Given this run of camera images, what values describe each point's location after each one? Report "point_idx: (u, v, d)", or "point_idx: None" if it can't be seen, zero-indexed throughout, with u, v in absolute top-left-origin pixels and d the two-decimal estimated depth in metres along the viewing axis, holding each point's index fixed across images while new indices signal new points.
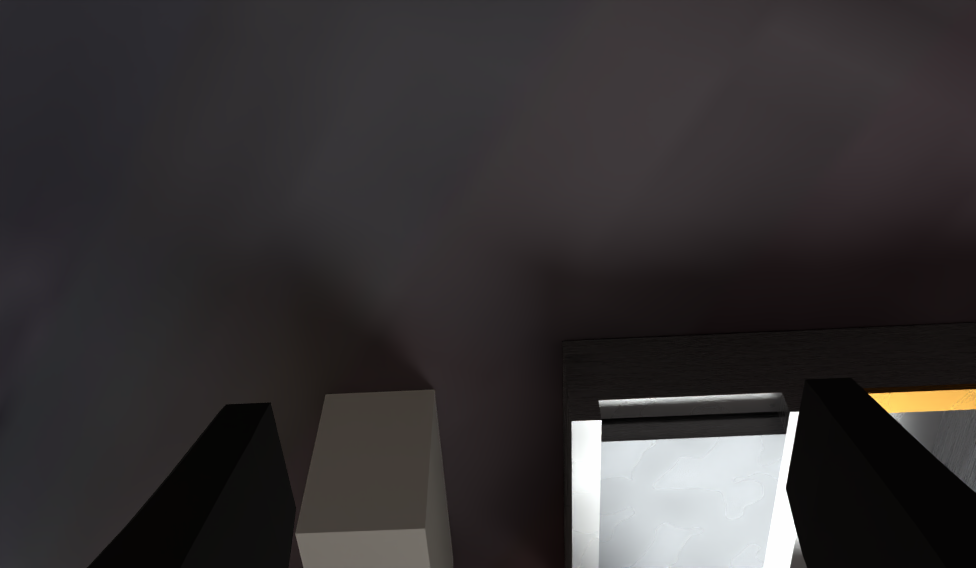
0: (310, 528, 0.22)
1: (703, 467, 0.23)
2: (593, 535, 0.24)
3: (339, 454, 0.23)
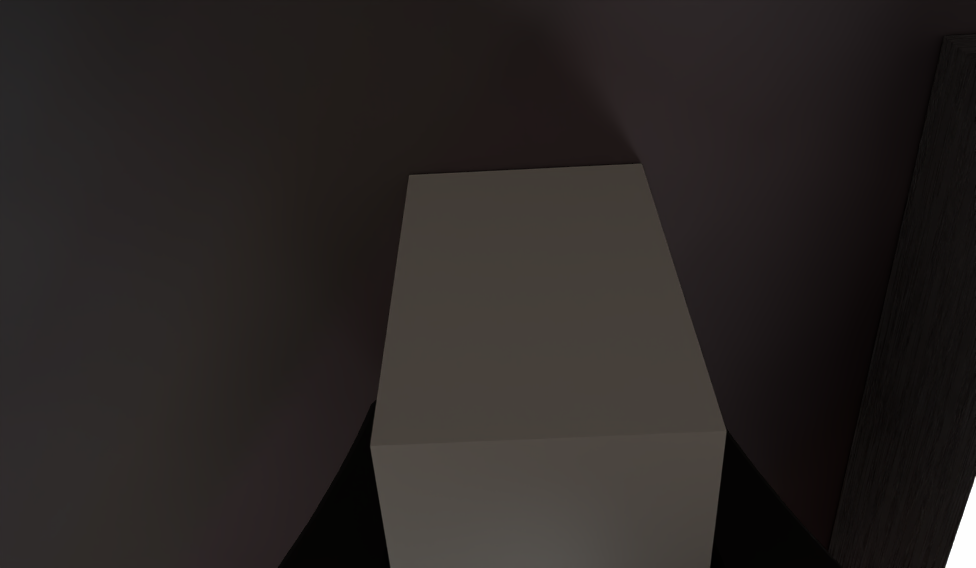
0: (409, 433, 0.08)
1: None
2: None
3: (457, 276, 0.10)
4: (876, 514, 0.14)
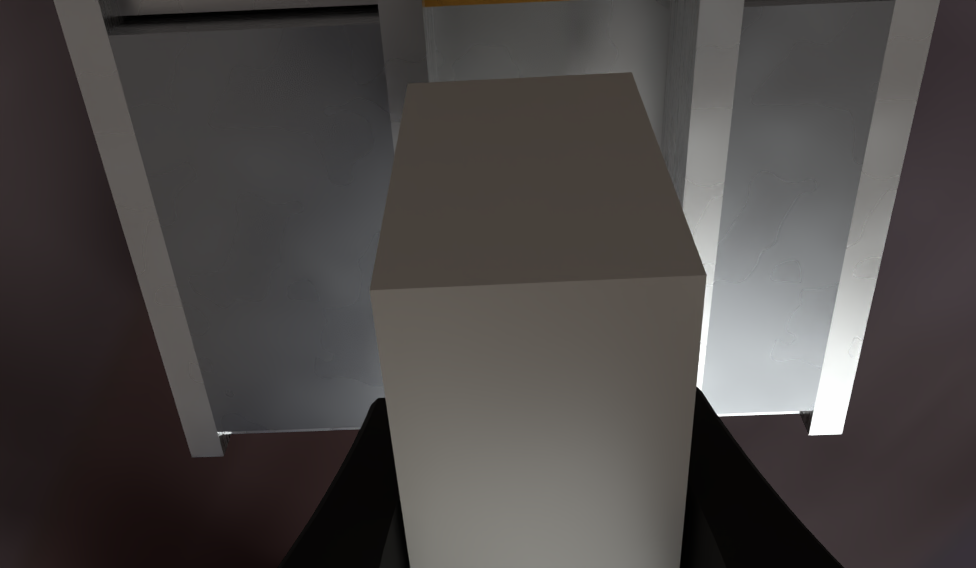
0: (407, 281, 0.08)
1: (273, 88, 0.15)
2: (149, 214, 0.17)
3: (454, 160, 0.10)
4: None
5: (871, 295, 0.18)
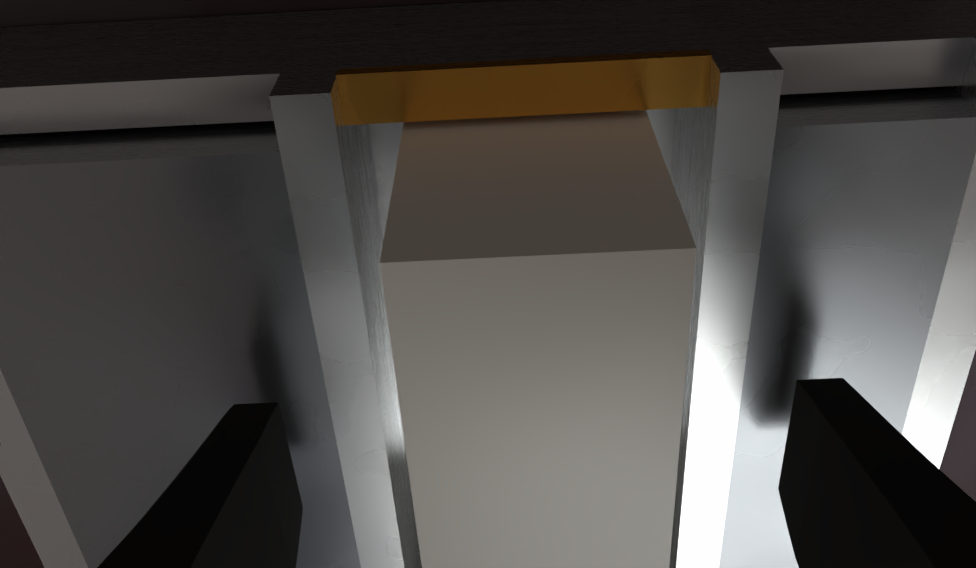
0: (414, 254, 0.09)
1: (142, 233, 0.12)
2: None
3: (458, 144, 0.11)
4: None
5: None
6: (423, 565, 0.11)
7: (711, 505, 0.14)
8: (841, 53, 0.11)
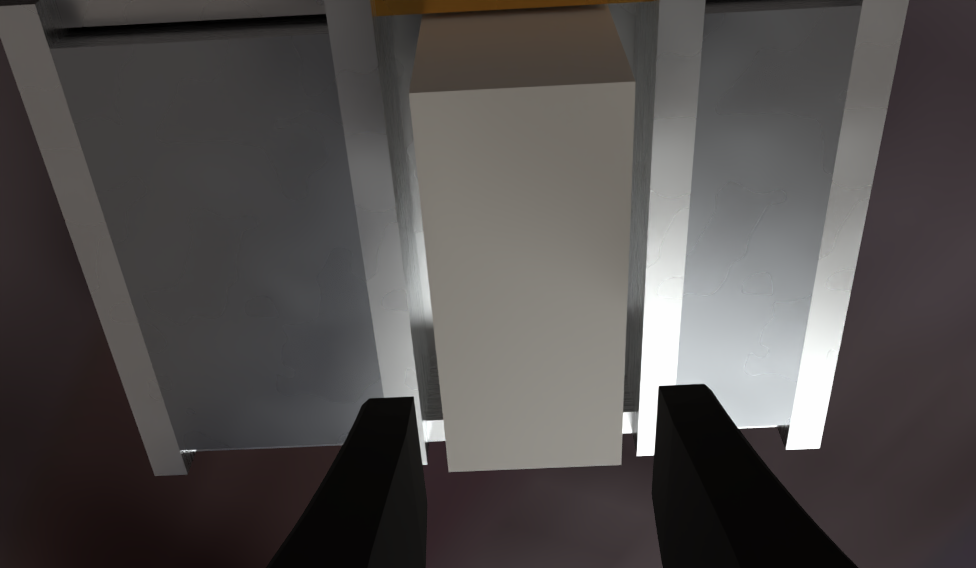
0: (433, 89, 0.12)
1: (221, 101, 0.15)
2: (100, 230, 0.16)
3: (464, 28, 0.14)
4: None
5: (846, 307, 0.17)
6: (437, 351, 0.15)
7: (666, 340, 0.18)
8: None
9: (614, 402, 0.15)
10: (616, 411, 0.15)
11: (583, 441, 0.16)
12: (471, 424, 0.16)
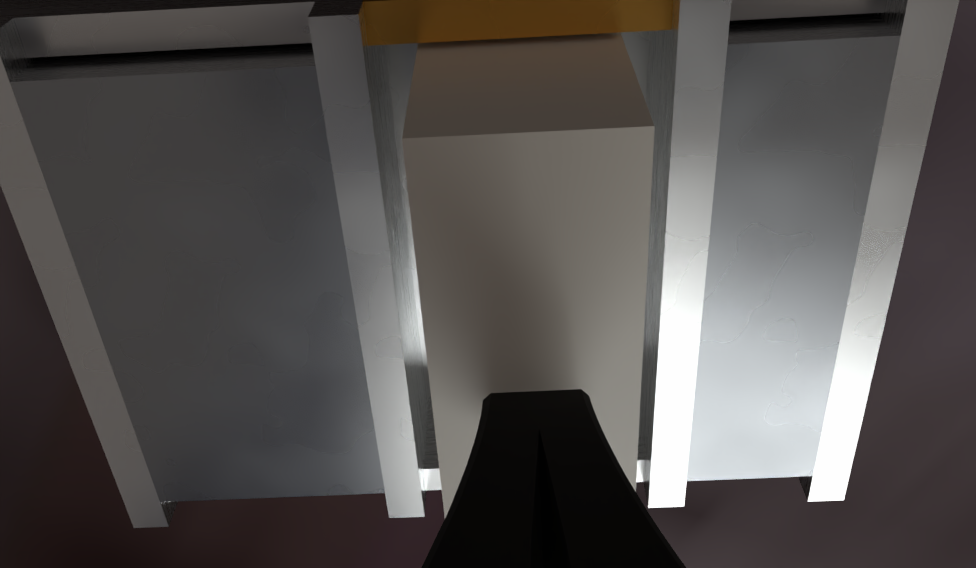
0: (429, 134, 0.11)
1: (199, 137, 0.14)
2: (69, 274, 0.15)
3: (463, 59, 0.13)
4: None
5: (875, 355, 0.16)
6: (434, 412, 0.13)
7: (681, 389, 0.17)
8: None
9: (627, 465, 0.14)
10: (629, 474, 0.14)
11: None
12: None
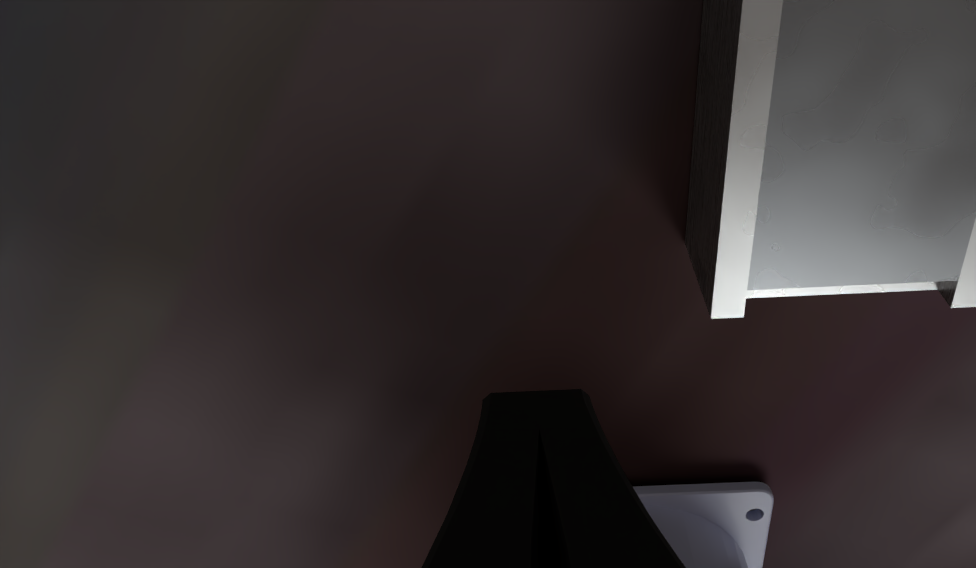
0: None
1: None
2: (769, 45, 0.17)
3: None
4: (704, 147, 0.20)
5: None
6: None
7: None
8: None
9: None
10: None
11: None
12: None
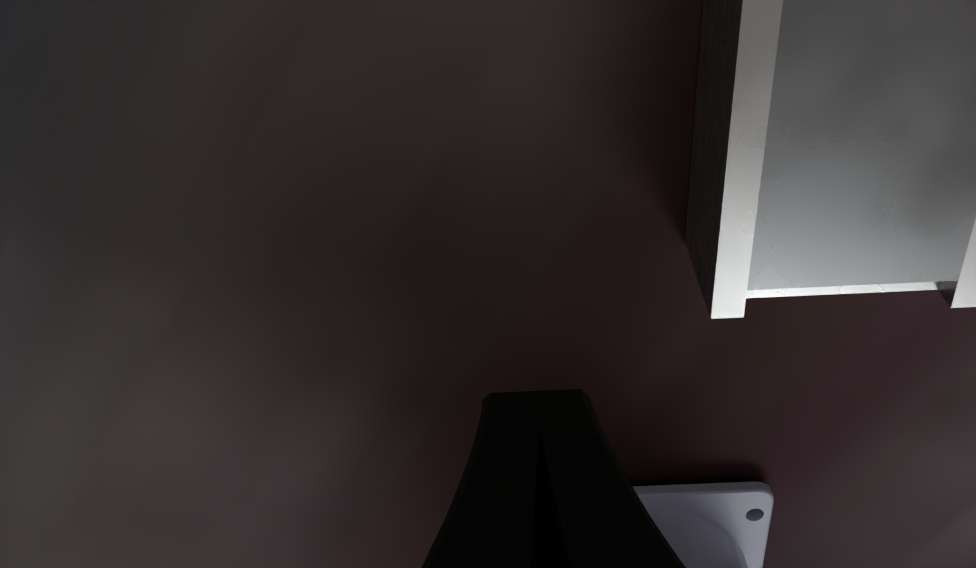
0: None
1: None
2: (769, 45, 0.17)
3: None
4: (704, 147, 0.20)
5: None
6: None
7: None
8: None
9: None
10: None
11: None
12: None
